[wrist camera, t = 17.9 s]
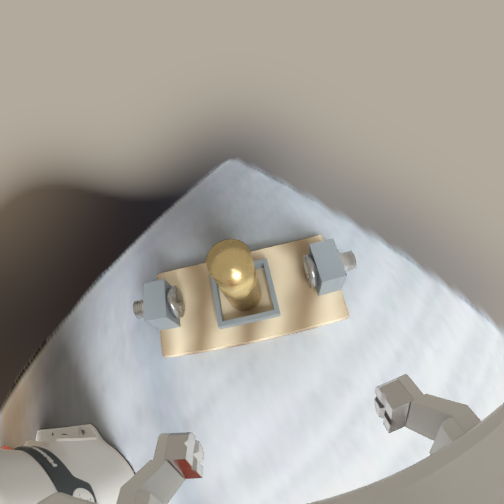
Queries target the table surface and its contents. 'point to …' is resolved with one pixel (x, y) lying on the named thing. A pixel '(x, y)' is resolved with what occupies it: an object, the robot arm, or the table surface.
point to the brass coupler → (235, 273)
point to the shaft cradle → (259, 318)
